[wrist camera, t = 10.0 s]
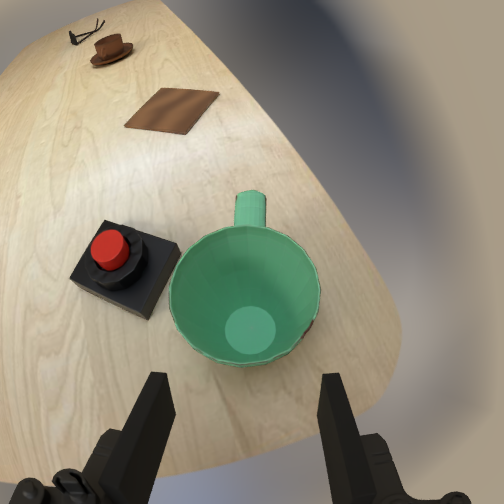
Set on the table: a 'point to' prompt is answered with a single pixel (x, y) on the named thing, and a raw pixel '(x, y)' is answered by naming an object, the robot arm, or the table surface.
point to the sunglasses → (73, 37)
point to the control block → (130, 271)
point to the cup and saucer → (110, 49)
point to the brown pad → (172, 110)
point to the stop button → (110, 250)
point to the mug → (245, 290)
